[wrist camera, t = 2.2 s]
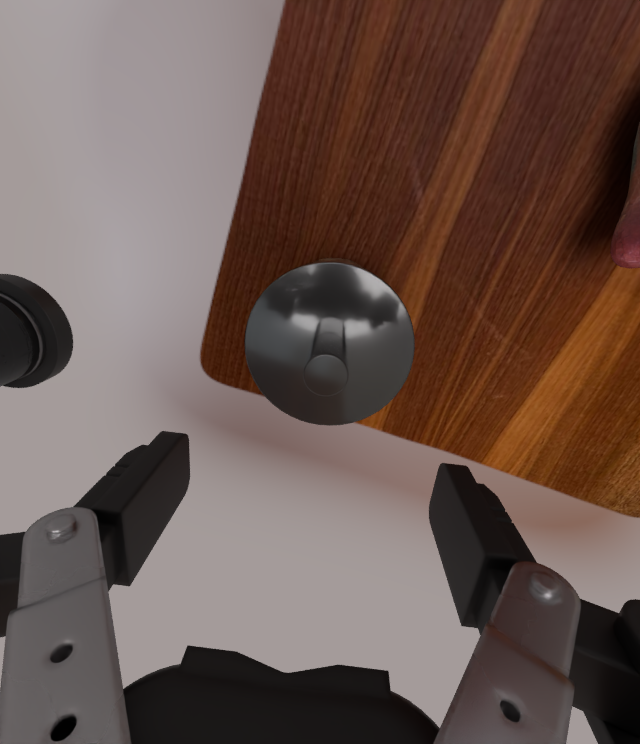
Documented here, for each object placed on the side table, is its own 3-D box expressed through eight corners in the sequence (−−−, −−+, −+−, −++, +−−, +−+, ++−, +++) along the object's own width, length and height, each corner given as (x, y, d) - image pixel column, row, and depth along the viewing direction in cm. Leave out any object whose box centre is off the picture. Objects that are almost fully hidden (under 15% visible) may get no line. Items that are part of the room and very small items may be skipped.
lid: (246, 409, 26) (223, 453, 21) (250, 252, 23) (222, 257, 17) (396, 425, 26) (410, 473, 21) (425, 269, 22) (452, 280, 17)
